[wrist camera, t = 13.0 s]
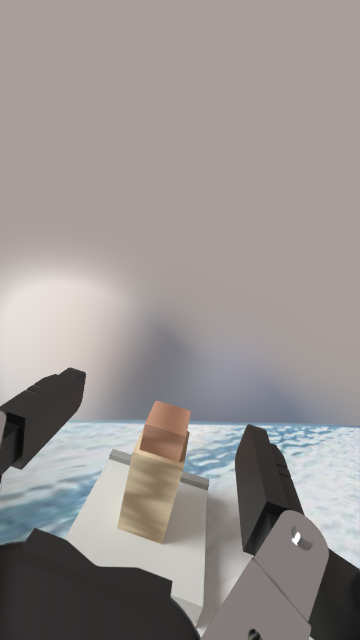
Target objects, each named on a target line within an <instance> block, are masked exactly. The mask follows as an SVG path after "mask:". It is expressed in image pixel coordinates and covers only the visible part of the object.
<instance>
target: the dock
mask: <svg viewBox="0 0 360 640" xmlns="http://www.w3.org/2000/svg"><path fill="white" fill-rule="evenodd" d="M131 458H132V455H130V454H127V453H124V452H121V451H118V450H114V449H113V450H112V452H111V453H110V457H109V460H108V462H107V464H106V465H105V467H104V469H103V471H102V473H101V474H100V476H99V478H98V480H97V482H96V483H95V485H94V487H93V489H92V491H91V492H90V494H89V496H88V498H87V500H86V501H85V503H84V505H83V507H82V509H81V510H80V512H79V514H78V516H77V518H76V519H75V521H74V523H73V525H72V527H71V528H70V530H69V532H68V534H67V536H66V537H65V540H67V541H68V542H70V543H71V544H72V545H73V546H74V547H75V548H76V549H78V550H79V551H80V552H81V553H82V554H83V555H84V556H86V557H87V558H88V559H89V560H90V561H91V562H92V563H94V564H95V565H97V566H101V567H138V568H141V569H143V570H146V571H148V572H151V573H154V574H156V575H159V576H161V577H164V578H167V579H169V580H172V581H173V583H172V590H171V598H173V599H174V600H175V601H176V602H177V603H178V604H179V605H180V606H181V607H182V609H183V610H184V611H185V612H186V614H187V615H188V617H189V618H190V619H191V621H192V622H193V624H194V626H195V628H196V625H197V622H198V619H199V617H200V614H201V611H202V609H203V599H204V570H205V542H206V514H207V490H208V487H209V479H206V478H203V477H200V476H197V475H194V474H191V473H187V472H184V471H182V475H181V478H180V482H179V486H178V489H177V493H176V496H175V500H174V504H173V507H172V511H171V514H170V518H169V522H168V525H167V529H166V532H165V536H164V540H163V543H162V544H159V543H156V542H154V541H151V540H148V539H145V538H143V537H140V536H137V535H134V534H132V533H129V532H126V531H123V530H120V529H118V528H117V526H118V521H119V516H120V511H121V506H122V501H123V497H124V492H125V487H126V482H127V477H128V472H129V468H130V463H131Z"/></svg>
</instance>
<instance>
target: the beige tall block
mask: <svg viewBox="0 0 360 640" xmlns="http://www.w3.org/2000/svg"><path fill="white" fill-rule="evenodd" d="M190 412H191V411H189V410H186V409H182V408H179V407H176V406H172V405H169V404H166V403H162V402H159V401H155V403H154V406H153V408H152V410H151V412H150V414H149V416H148V418H147V420H146V423H145V426H144V429H143V431H142V433H141V435H140V437H139V440H138V442H137V444H136V446H135V448H134V450H133V453H132V458H131V463H130V468H129V472H128V477H127V482H126V487H125V492H124V497H123V501H122V506H121V511H120V516H119V521H118V526H117V528H118V529H120V530H123V531H126V532H129V533H132V534H134V535H137V536H140V537H143V538H145V539H148V540H151V541H154V542H156V543H159V544H162V543H163V540H164V536H165V532H166V529H167V525H168V522H169V518H170V514H171V511H172V507H173V504H174V500H175V496H176V493H177V489H178V486H179V482H180V478H181V475H182V471H183V467H184V461H185V456H186V450H187V444H188V438H189V432H188V431H187V428H188V423H189V418H190Z"/></svg>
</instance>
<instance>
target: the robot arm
mask: <svg viewBox="0 0 360 640" xmlns="http://www.w3.org/2000/svg"><path fill="white" fill-rule="evenodd" d="M85 378H86V373H85V372H83V371H80V370H77V369H74V368H68V369H67V370H65V371H63V372H62V373H61V374H59V375H56V374H54V375H51V376H48V377H45V378H43V379H41V380H40V381H38V382H37V383H35V384H34V385H32V386H31V387H29V388H28V389H27V390H26V391H23V392H21V393H20V394H18V395H17V396H15V397H14V398H13V399H11V400H9V401H8V402H6V403H5V404H3V405H2V406H0V492H1V486H2V481H3V473H4V472H5V471H6V470H7V469H8V468H9V467H10V466H12V467H15V468H18V469H20V470H22V469H23V468H24V467H25V466H26V465H27V464H28V462H29V461H30V460H31V459H32V458H33V457H34V456H35V455H36V454H37V453H38V452H39V451H40V450H41V449H42V448H43V447H44V446H45V444H46V443H47V442H48V441H49V440H50V439H51V438H52V437H53V436H54V435H55V434H56V433H57V432H58V431H59V430H60V429H61V428H62V426H63V425H64V424H65V423H66V422H67V421H68V420H69V419H70V418H71V417H72V416H73V415H74V413H76V411H77V410H78V408H79V407H80V404H81V402H82V398H83V391H84V385H85ZM287 468H288V467H287V464H286V461H285V458H284V456H283V454H282V453H281V452H280V450H279V449H278V448H277V446H276V445H274V444H271V443H270V442H269V438H268V435H267V432H266V430H265V429H262V428H259V427H256V426H253V425H250V424H248V425H247V427H246V429H245V432H244V434H243V437H242V439H241V442H240V444H239V447H238V449H237V453H236V457H235V471H236V482H237V493H238V503H239V514H240V525H241V536H242V546H243V552H246V553H249V554H252V555H254V557H253V558H252V559H251V560H250V562H249V563H248V565H247V566H246V568H245V570H244V571H243V573H242V574H241V576H240V577H239V579H238V581H237V582H236V584H235V585H234V587H233V588H232V590H231V592H230V593H229V595H228V596H227V598H226V600H225V601H224V603H223V604H222V606H221V607H220V609H219V611H218V612H217V614H216V615H215V617H214V619H213V620H212V622H211V623H210V625H209V626H208V628H207V630H206V631H205V633H204V634H203V636H202V637H200V635H199V633H198V631H197V629H196V628H195V626H194V624H193V622H192V621H191V619H190V618H189V617H188V615H187V614H186V612H185V611H184V610H183V609H182V607H181V606H180V605H179V604H178V603H177V602H176V601H175V600H174V599H173V598H171V590H172V583H173V581H172V580H169V579H167V578H164V577H161V576H159V575H156V574H154V573H151V572H148V571H146V570H143V569H141V568H138V567H101V566H97V565H95V564H94V563H92V562H91V561H90V560H89V559H88V558H87V557H86V556H84V555H83V554H82V553H81V552H80V551H79V550H78V549H76V548H75V547H74V546H73V545H72V544H71V543H70V542H68V541H67V540H65V539H62V538H60V537H57V536H54V535H52V534H49V533H47V532H44V531H41V530H39V529H36V528H34V530H33V531H32V533H31V534H30V536H29V537H28V538H27V540H26V541H20V542H11V543H7V544H2V545H0V640H308V639H309V636H310V637H312V638H313V639H314V640H360V569H358V568H357V567H355V566H354V565H352V564H351V563H349V562H348V561H346V560H345V559H343V558H342V557H340V556H339V555H337V554H336V553H334V552H333V551H332V550H330V549H329V548H328V546H327V543H326V541H325V539H324V537H323V535H322V534H321V532H320V531H319V529H318V528H317V527H316V526H315V525H314V524H313V523H312V522H311V521H310V520H309V519H308V518H307V517H305V515H304V513H303V510H302V507H301V504H300V501H299V498H298V495H297V493H296V490H295V487H294V484H293V481H292V479H291V475H290V473H289V470H288V469H287Z"/></svg>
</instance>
